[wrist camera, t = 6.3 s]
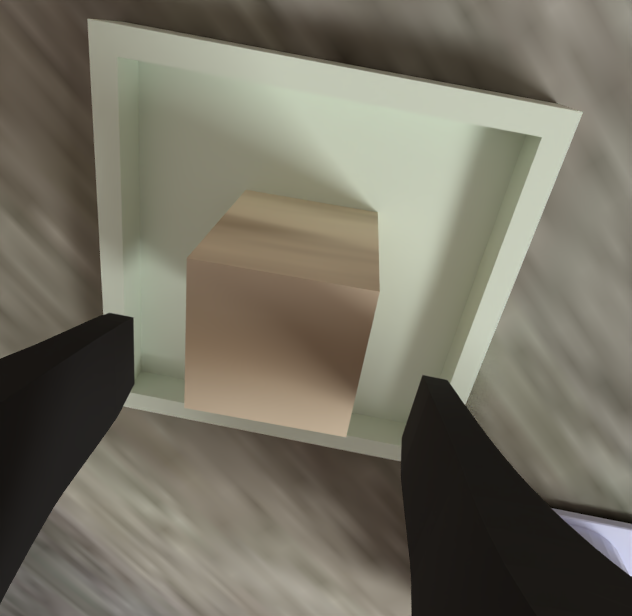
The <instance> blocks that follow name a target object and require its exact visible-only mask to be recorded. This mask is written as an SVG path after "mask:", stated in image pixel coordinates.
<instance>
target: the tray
mask: <svg viewBox="0 0 632 616" xmlns="http://www.w3.org/2000/svg"><path fill="white" fill-rule="evenodd" d="M87 21H88V39H89V58H90V76H91V95H92V113H93V132H94V151H95V169H96V188H97V206H98V225H99V243H100V262H101V280H102V299H103V315H104V314H107V313H114V314H119V315H124V316H129V317H134V376H135V384H134V386H133V388H132V390H131V392H130V394H129V396H128V398H127V400H126V402H125V404H124V405H123V407H128V408H133V409H139V410H144V411H149V412H154V413H159V414H164V415H169V416H174V417H179V418H184V419H189V420H194V421H199V422H204V423H209V424H214V425H219V426H224V427H229V428H234V429H239V430H245V431H250V432H255V433H260V434H265V435H270V436H275V437H280V438H285V439H290V440H295V441H300V442H305V443H310V444H315V445H320V446H325V447H330V448H335V449H340V450H345V451H351V452H356V453H361V454H366V455H371V456H376V457H381V458H386V459H391V460H396V461H401V443H402V435H403V432H404V429H405V426H406V423H407V420H408V417H409V414H410V411H411V408H412V405H413V402H414V399H415V396H416V393H417V390H418V387H419V384H420V381H421V378H422V375H425V376H430V377H435V378H440V379H445V380H448V382H449V383H450V384H451V386H452V387H453V388H454V390H455V391H456V393H457V394H458V396H459V397H460V399H461V400H462V401H463V403H464V404H466V402H467V399H468V397H469V394H470V392H471V389H472V387H473V384H474V382H475V379H476V377H477V374H478V372H479V370H480V367H481V365H482V362H483V360H484V357H485V355H486V352H487V350H488V347H489V345H490V342H491V340H492V337H493V335H494V332H495V330H496V327H497V325H498V322H499V320H500V317H501V315H502V312H503V310H504V307H505V305H506V302H507V300H508V297H509V295H510V292H511V290H512V287H513V285H514V282H515V280H516V277H517V275H518V272H519V270H520V268H521V265H522V263H523V260H524V258H525V255H526V253H527V250H528V248H529V245H530V243H531V240H532V238H533V235H534V233H535V230H536V228H537V225H538V223H539V220H540V218H541V215H542V213H543V210H544V208H545V205H546V203H547V200H548V198H549V195H550V193H551V190H552V188H553V185H554V183H555V180H556V178H557V175H558V173H559V170H560V168H561V166H562V163H563V161H564V158H565V156H566V153H567V151H568V148H569V146H570V143H571V141H572V138H573V136H574V133H575V131H576V128H577V126H578V123H579V121H580V118H581V116H582V113H583V112H581V111H578V110H575V109H572V108H569V107H566V106H563V105H560V104H556V103H551V102H546V101H540V100H535V99H530V98H524V97H519V96H514V95H509V94H503V93H498V92H493V91H487V90H482V89H477V88H472V87H466V86H461V85H456V84H450V83H445V82H440V81H434V80H429V79H424V78H419V77H413V76H408V75H403V74H397V73H392V72H387V71H381V70H376V69H371V68H366V67H360V66H355V65H350V64H344V63H339V62H334V61H329V60H323V59H318V58H313V57H307V56H302V55H297V54H291V53H286V52H281V51H276V50H270V49H265V48H260V47H254V46H249V45H244V44H238V43H233V42H228V41H223V40H217V39H212V38H207V37H201V36H196V35H191V34H185V33H180V32H175V31H170V30H164V29H159V28H154V27H148V26H143V25H138V24H133V23H127V22H122V21H112V20H99V19H87ZM245 190H251V191H256V192H262V193H268V194H274V195H280V196H286V197H291V198H297V199H303V200H309V201H315V202H321V203H326V204H332V205H338V206H344V207H350V208H356V209H362V210H367V211H373V212H378V239H379V280H380V293H379V297H378V302H377V306H376V310H375V315H374V319H373V323H372V328H371V332H370V336H369V341H368V345H367V349H366V354H365V358H364V362H363V366H362V371H361V375H360V379H359V384H358V388H357V392H356V397H355V401H354V405H353V410H352V414H351V418H350V423H349V427H348V431H347V436H346V437H342V436H336V435H331V434H325V433H320V432H314V431H309V430H303V429H298V428H292V427H287V426H281V425H275V424H270V423H264V422H259V421H253V420H248V419H242V418H237V417H231V416H226V415H220V414H215V413H209V412H204V411H198V410H193V409H187V408H184V393H185V333H186V272H187V257H188V256H189V255H190V254H191V253H192V251H193V250H194V249H195V248H196V247H197V246H198V244H199V243H200V242H201V241H202V240H203V239H204V237H205V236H206V235H207V234H208V233H209V232H210V231H211V229H212V228H213V227H214V226H215V225H216V224H217V222H218V221H219V220H220V219H221V218H222V217H223V216H224V214H225V213H226V212H227V211H228V210H229V209H230V207H231V206H232V205H233V204H234V203H235V202H236V201H237V199H238V198H239V197H240V196H241V195H242V194H243V192H244V191H245Z"/></svg>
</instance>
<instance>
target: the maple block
mask: <svg viewBox="0 0 632 616" xmlns="http://www.w3.org/2000/svg"><path fill="white" fill-rule="evenodd" d="M379 293H380V280H379V239H378V212H373V211H367V210H362V209H356V208H350V207H344V206H338V205H332V204H326V203H321V202H315V201H309V200H303V199H297V198H291V197H286V196H280V195H274V194H268V193H262V192H256V191H251V190H245V191H244V192H243V194H242V195H241V196H240V197H239V198H238V199H237V201H236V202H235V203H234V204H233V205H232V206H231V207H230V209H229V210H228V211H227V212H226V213H225V214H224V216H223V217H222V218H221V219H220V220H219V221H218V222H217V224H216V225H215V226H214V227H213V228H212V229H211V231H210V232H209V233H208V234H207V235H206V236H205V237H204V239H203V240H202V241H201V242H200V243H199V244H198V246H197V247H196V248H195V249H194V250H193V251H192V253H191V254H190V255H189V256H188V257H187V272H186V333H185V393H184V408H187V409H193V410H198V411H204V412H209V413H215V414H220V415H226V416H231V417H237V418H242V419H248V420H253V421H259V422H264V423H270V424H275V425H281V426H287V427H292V428H298V429H303V430H309V431H314V432H320V433H325V434H331V435H336V436H342V437H346V436H347V431H348V427H349V423H350V418H351V414H352V410H353V405H354V401H355V397H356V392H357V388H358V384H359V379H360V375H361V371H362V366H363V362H364V358H365V354H366V349H367V345H368V341H369V336H370V332H371V328H372V323H373V319H374V315H375V310H376V306H377V302H378V297H379Z"/></svg>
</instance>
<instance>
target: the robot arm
mask: <svg viewBox="0 0 632 616" xmlns="http://www.w3.org/2000/svg"><path fill="white" fill-rule="evenodd" d="M134 384H135V376H134V317H129V316H124V315H119V314H114V313H107V314H104V315H102V316H99V317H97V318H94V319H92V320H90V321H87V322H85V323H83V324H81V325H78V326H76V327H74V328H72V329H70V330H67V331H65V332H63V333H61V334H58V335H56V336H54V337H52V338H49V339H47V340H45V341H43V342H40V343H38V344H36V345H33V346H31V347H29V348H26V349H24V350H21V351H19V352H16V353H14V354H11V355H8V356H6V357H3V358H1V359H0V603H1V601H2V599H3V597H4V595H5V593H6V591H7V590H8V588H9V586H10V584H11V582H12V580H13V579H14V577H15V575H16V573H17V571H18V569H19V567H20V566H21V564H22V562H23V560H24V558H25V556H26V555H27V553H28V551H29V549H30V547H31V546H32V544H33V542H34V540H35V539H36V537H37V535H38V533H39V532H40V530H41V528H42V526H43V525H44V523H45V521H46V519H47V518H48V516H49V514H50V513H51V511H52V509H53V507H54V506H55V504H56V503H57V501H58V500H59V498H60V497H61V495H62V494H63V492H64V491H65V489H66V488H67V487H68V485H69V484H70V482H71V481H72V480H73V478H74V477H75V476H76V474H77V473H78V471H79V470H80V469H81V467H82V466H83V464H84V463H85V462H86V460H87V459H88V458H89V456H90V455H91V453H92V452H93V451H94V449H95V448H96V446H97V445H98V444H99V442H100V441H101V439H102V438H103V437H104V435H105V434H106V432H107V431H108V430H109V428H110V427H111V425H112V424H113V422H114V421H115V420H116V418H117V416H118V415H119V413H120V411H121V409H122V407H123V405H124V404H125V402H126V400H127V398H128V396H129V394H130V392H131V390H132V388H133V386H134ZM401 482H402V492H403V502H404V511H405V520H406V530H407V539H408V548H409V557H410V569H411V600H412V616H632V577H631V576H632V524H630V523H624V522H619V521H614V520H609V519H604V518H599V517H594V516H589V515H584V514H579V513H574V512H569V511H564V510H559V509H554V508H551V507H550V506H549V505H548V504H547V503H546V502H545V501H544V500H543V499H542V498H541V497H540V496H539V495H538V494H537V493H536V492H535V491H534V490H533V489H532V488H531V487H530V486H529V485H528V484H527V483H526V482H525V481H524V479H523V478H522V477H521V476H520V475H519V474H518V473H517V472H516V470H515V469H514V468H513V467H512V466H511V464H510V463H509V462H508V461H507V460H506V459H505V457H504V456H503V455H502V454H501V453H500V451H499V450H498V449H497V448H496V446H495V445H494V444H493V443H492V441H491V440H490V439H489V437H488V436H487V435H486V433H485V432H484V431H483V429H482V428H481V427H480V425H479V424H478V423H477V421H476V420H475V418H474V417H473V416H472V414H471V413H470V411H469V410H468V409H467V407H466V406H465V404H464V403H463V401H462V400H461V399H460V397H459V396H458V394H457V393H456V391H455V390H454V388H453V387H452V386H451V384H450V383H449V382H448V380H445V379H440V378H435V377H430V376H425V375H422V378H421V381H420V384H419V387H418V390H417V393H416V396H415V399H414V402H413V405H412V408H411V411H410V414H409V417H408V420H407V423H406V426H405V429H404V432H403V435H402V443H401Z"/></svg>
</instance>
